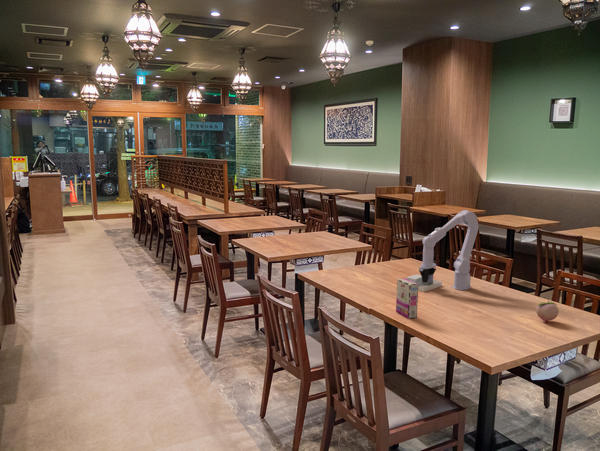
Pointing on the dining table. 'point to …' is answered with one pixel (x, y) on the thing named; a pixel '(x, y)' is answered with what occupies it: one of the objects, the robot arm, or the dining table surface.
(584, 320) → the dining table surface
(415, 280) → the plain white rectangular box
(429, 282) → the metal block
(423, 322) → the dining table surface
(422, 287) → the tote
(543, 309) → the decorative fruit
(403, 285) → the candy bar box
